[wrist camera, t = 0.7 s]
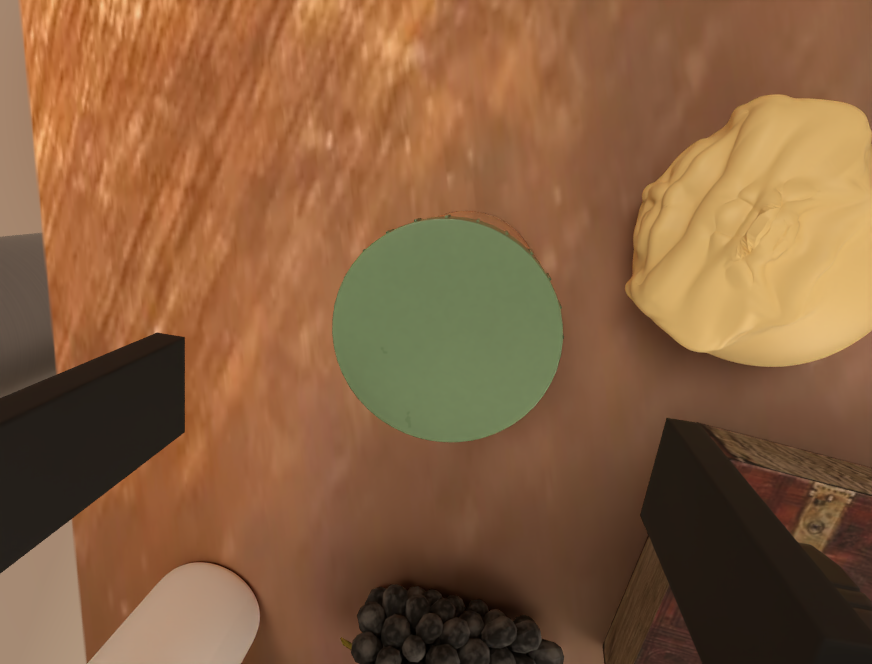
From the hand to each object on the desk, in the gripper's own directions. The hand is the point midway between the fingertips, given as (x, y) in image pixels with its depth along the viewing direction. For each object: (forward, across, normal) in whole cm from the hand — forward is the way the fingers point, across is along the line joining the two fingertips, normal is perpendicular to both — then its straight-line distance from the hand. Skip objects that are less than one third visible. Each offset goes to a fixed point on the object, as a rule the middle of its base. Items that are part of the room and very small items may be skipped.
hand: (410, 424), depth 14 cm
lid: (+9, 0, 0) cm, 9 cm away
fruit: (+21, +3, -25) cm, 32 cm away
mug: (+21, -16, -30) cm, 40 cm away
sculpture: (+21, +14, +5) cm, 25 cm away
